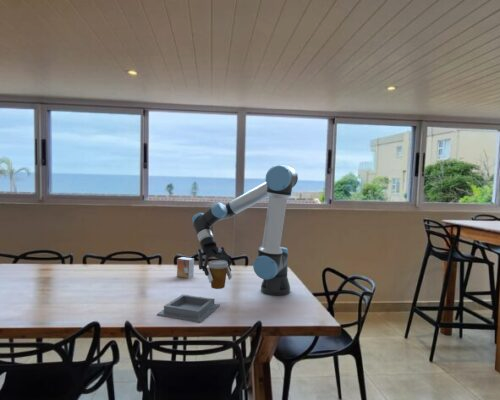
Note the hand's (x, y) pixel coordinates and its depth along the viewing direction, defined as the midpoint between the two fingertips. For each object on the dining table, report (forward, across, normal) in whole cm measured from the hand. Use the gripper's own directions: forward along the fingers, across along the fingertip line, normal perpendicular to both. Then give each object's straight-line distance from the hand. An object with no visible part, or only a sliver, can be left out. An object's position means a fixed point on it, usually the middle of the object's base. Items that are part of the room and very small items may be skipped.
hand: (221, 279), depth 166 cm
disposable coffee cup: (+1, 0, -6) cm, 6 cm away
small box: (-26, -1, -40) cm, 48 cm away
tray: (+10, +17, -5) cm, 20 cm away
